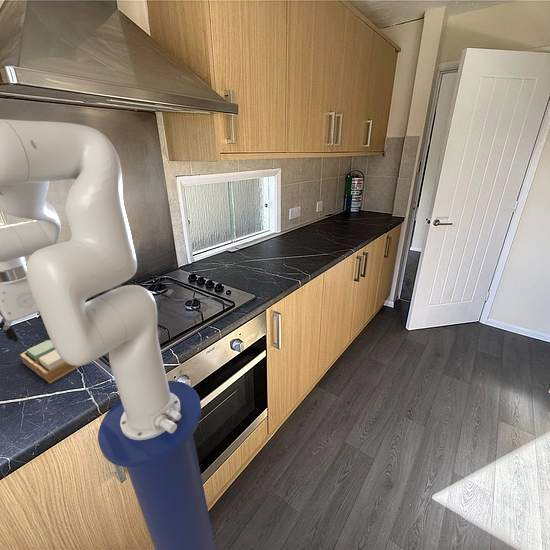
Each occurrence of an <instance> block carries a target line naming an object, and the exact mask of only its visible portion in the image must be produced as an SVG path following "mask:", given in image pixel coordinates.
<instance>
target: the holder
mask: <svg viewBox="0 0 550 550" xmlns="http://www.w3.org/2000/svg"><path fill="white" fill-rule="evenodd" d="M48 340H49V341H51V339H48ZM19 356H20V360H21V361H22V363H23V364H24V365H25V366H26V367H28V368H29V369H30V370H32V371H33V372H34V373H36V374H37V375H38V376H39V377H41V378H42V379H44V380H45V381H46V382H47V383H49V384H52V383H54V382H55V381H57V380H59V379H60V378H62V377H64V376H66V375H68V374H69V373H72V372H73V371H75V370H76V369H78V368H80V367H81V366H73V365H70V364H68V363H66V362H65V363H63V364H61V365H59V366H57V367H55V368H53V369H52V370H50V371H47V370H46V369H44V368H43V367H42V365H41V363H40V360H37V361H33V360H32V359H30V357H29V355H28V353H27V350H25V351H24V352H22V353H19Z"/></svg>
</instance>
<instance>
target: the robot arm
mask: <svg viewBox="0 0 550 550" xmlns="http://www.w3.org/2000/svg"><path fill="white" fill-rule="evenodd" d="M63 180H64V181H65V180H74V182H73V183H72V185H71V187H70V190H69V191H68V194H67V197H66V199H65V204H64V212H65V213H64V214H65V217H66V220H67V222H68V226H69V229H70V235H71V237H70V239H69V240H66V241H61V242H58V241H59V239H60V236H61V233H62V223H61V220H60V217H59V214H58V212H57V210H56V209H55V208H54V207H53V205H52V204H51V203H50V202H49V201H48V200H47V195H48V192H49V191H48V190H49V187H50V183H51V182H57V181H63ZM123 190H124V189H123V171H122V164H121V161H120V157H119V154H118V153H117V151H116V148H115V147H114V145H113V143H112V142H111V141H110V139H109V138H108V137H107V136H106V135H105V134H103V132H102V131H100V130H98V129H96V128H94V127H91V126H88V125H85V124H78V123H73V122H63V121H62V122H61V121H60V122H59V121H48V120H45V121H44V120H22V119H4V118H3V119H2V118H0V212H2V213H4V214H7V215H9V216H12V217H16V218H20V219H27V220H29V221H23V222H17V223H13V224H9V223H3V222H2V223H0V317H1V319H0V330H3V333H4V335H5V337H6V339H7V340H8V341H12V342H14V343H16V342H18V341H19V339H18V336H17V335H16V332H15V330H14V328H13V327H11V325H12V323H13V322H14V321H18V320H20V319H23V318H26V317H28V316H31V315H33V314H36V313H39V316H40V317H41V319H42V322H43V324H44V325H43V326H44V327H45V330H46V332H47V335H48V337H49V340H51V342H52V344H53V346H54V348H55V350H56V351H57V353H58V354H59V356H60V357H61V358H62V359H63V360H64V361H65V362H66V363H68V364H70V365H73V366H80V367H82V366H85V365H89V364H91V363H93V362H95V361H97V360H98V359H100V358H101V357H104V356H106V354H108V361H109V366H110V369H111V373H112V376H113V380H114V382H115V385H116V389H117V392H118V395H119V399H121V401H122V405H123V408H124V413H123V415H122V417H121V420H120V426H121V430H122V432H123V434H124V435H125V436H126V437H128V438H130V439H133V440H147V439H150V438H154V437H156V436H158V435H160V434H162V433H163V432H165V431H167V432H169V433H171V434H172V433H173V432H175V430H176V428H177V425H176V424H175V421H176V420H177V421H178V420H179V419H180V418H181V414H180V410H181V406H180V401H179V399H178V397H177V396H176V395H174V394H173V393H170V390H169V386H168V381H169V380H168V376H167V373H166V369H165V364H164V360H163V355H162V350H161V344H160V339H159V332H158V307H157V302H156V299H155V297H154V296H153V294H152V292H150V291H149V290H148V289H147V288H145V287H144V286H141V285H137V284H127V285H123V284H124V283H126V282H127V281H128V280H130V279H132V278H133V277H134V276H135V275H136V273H137V269H138V259H137V255H136V250H135V246H134V242H133V238H132V233H131V228H130V224H129V220H128V216H127V213H126V209H125V204H124V193H123ZM27 256H29V258H28V259H26V257H27ZM119 284H122V285H123V287H119V288H117V289H114V290H112V291H109V292H107V293H104V291H106V290H108V289H111V288H113V287H115V286H117V285H119ZM101 293H103V294H101ZM99 294H101V295H99ZM96 295H99V296H96ZM95 296H96V297H95ZM92 297H94V298H93V299H90V298H92ZM88 299H90V300H88ZM87 300H88V301H87Z"/></svg>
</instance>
